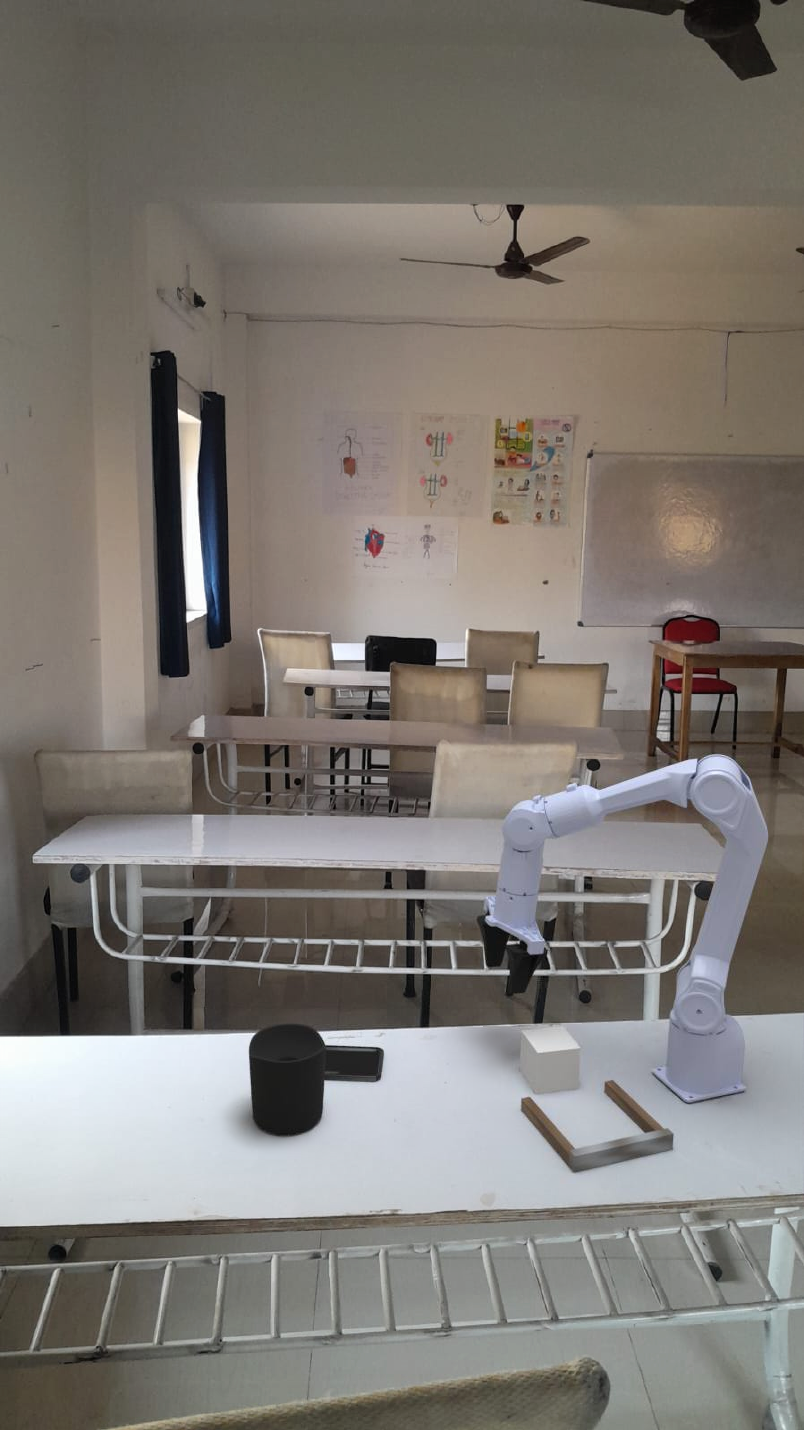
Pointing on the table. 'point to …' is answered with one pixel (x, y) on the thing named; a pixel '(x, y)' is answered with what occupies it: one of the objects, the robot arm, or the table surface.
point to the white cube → (549, 1060)
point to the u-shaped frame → (608, 1151)
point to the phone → (353, 1063)
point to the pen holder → (287, 1078)
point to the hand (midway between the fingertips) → (504, 978)
